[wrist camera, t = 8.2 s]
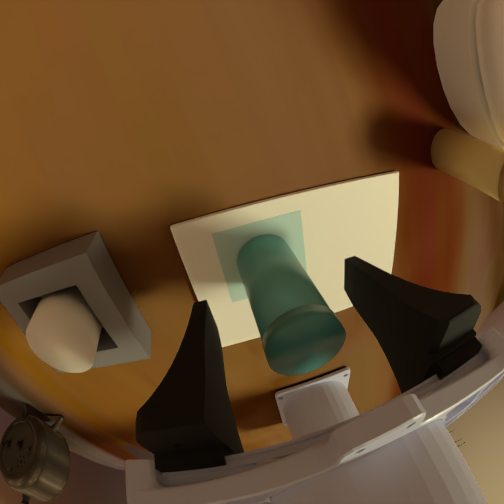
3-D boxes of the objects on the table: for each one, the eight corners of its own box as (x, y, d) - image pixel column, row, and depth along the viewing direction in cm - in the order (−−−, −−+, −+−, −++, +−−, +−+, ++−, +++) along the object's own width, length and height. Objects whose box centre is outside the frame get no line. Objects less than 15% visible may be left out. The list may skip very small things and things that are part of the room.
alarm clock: (30, 423, 23) (21, 522, 9) (2, 403, 20) (-14, 507, 6) (77, 421, 23) (75, 543, 9) (45, 397, 20) (32, 532, 6)
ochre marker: (455, 168, 16) (525, 205, 11) (429, 173, 16) (505, 215, 10) (457, 127, 15) (533, 156, 9) (430, 128, 14) (514, 159, 9)
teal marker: (294, 272, 17) (344, 357, 11) (243, 288, 17) (275, 383, 11) (286, 226, 16) (346, 307, 10) (229, 243, 15) (260, 338, 9)
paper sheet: (386, 289, 21) (388, 292, 21) (218, 345, 20) (218, 348, 20) (396, 170, 16) (399, 172, 15) (170, 225, 14) (170, 228, 14)
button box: (151, 331, 18) (150, 358, 16) (65, 349, 17) (58, 372, 15) (98, 230, 14) (85, 252, 12) (7, 266, 13) (-8, 288, 11)
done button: (114, 331, 16) (108, 368, 13) (65, 341, 15) (55, 375, 13) (80, 277, 13) (65, 313, 11) (30, 293, 13) (12, 326, 11)
